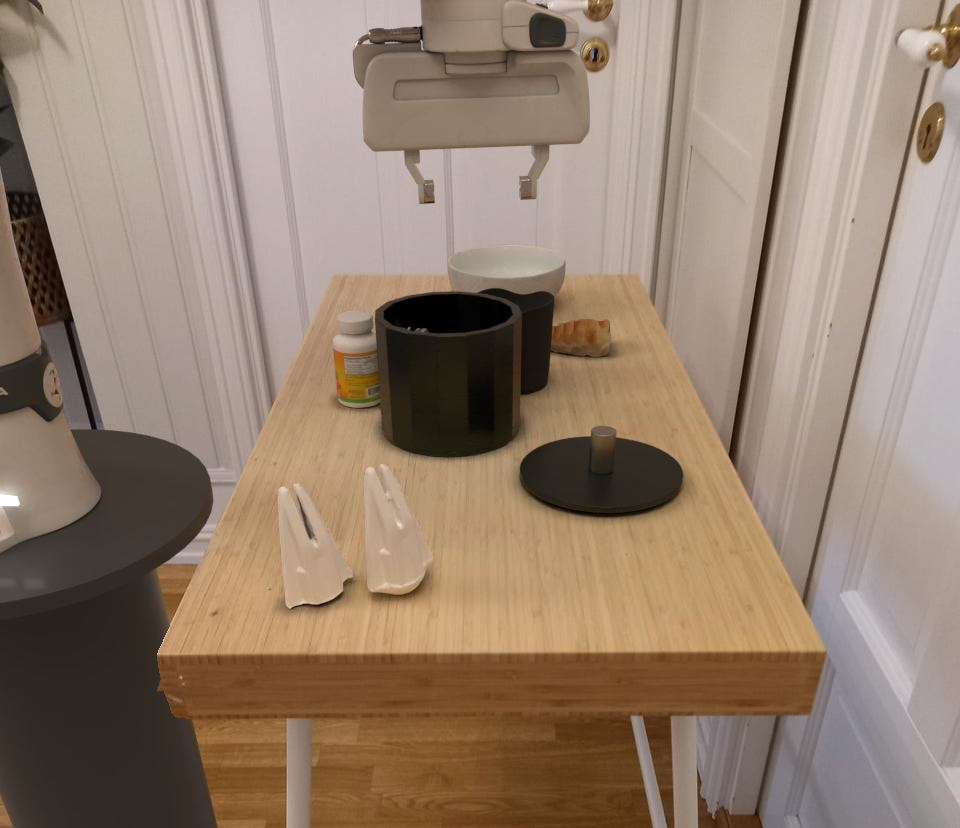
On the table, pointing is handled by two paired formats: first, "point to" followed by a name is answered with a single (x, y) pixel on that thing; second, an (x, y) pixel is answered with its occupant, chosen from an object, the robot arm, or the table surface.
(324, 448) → the table surface
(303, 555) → the shaker set
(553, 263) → the cereal bowl
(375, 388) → the supplement bottle
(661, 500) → the lid
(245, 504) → the table surface
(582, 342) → the pastry
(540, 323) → the pen holder
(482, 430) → the tin
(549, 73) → the robot arm
